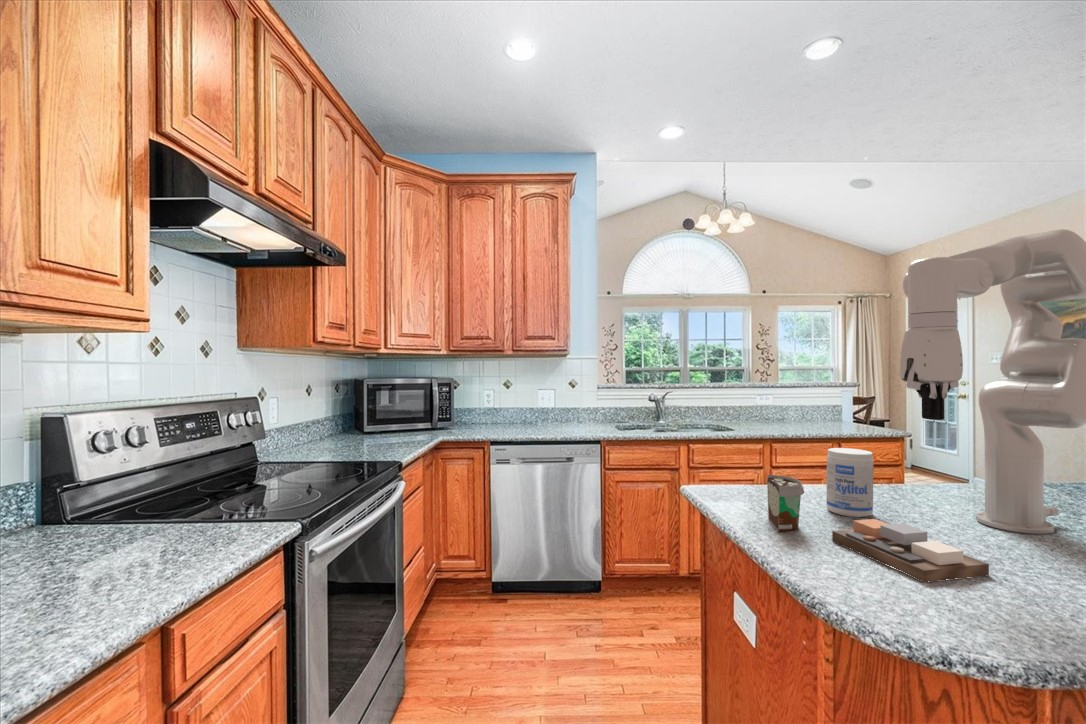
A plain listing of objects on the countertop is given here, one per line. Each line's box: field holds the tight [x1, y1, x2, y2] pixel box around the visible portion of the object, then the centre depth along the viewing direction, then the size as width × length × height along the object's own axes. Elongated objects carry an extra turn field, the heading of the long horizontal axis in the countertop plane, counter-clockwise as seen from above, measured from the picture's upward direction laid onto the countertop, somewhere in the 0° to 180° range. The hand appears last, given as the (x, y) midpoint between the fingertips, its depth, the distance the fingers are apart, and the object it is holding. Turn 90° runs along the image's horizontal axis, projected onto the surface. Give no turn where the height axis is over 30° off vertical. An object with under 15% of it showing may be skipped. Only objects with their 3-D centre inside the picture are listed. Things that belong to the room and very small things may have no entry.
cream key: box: [912, 540, 964, 565], centre depth 88 cm, size 5×5×2 cm
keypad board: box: [831, 528, 990, 583], centre depth 95 cm, size 13×20×3 cm, turn 11°
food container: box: [766, 474, 805, 534], centre depth 113 cm, size 12×6×10 cm, turn 168°
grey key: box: [880, 522, 928, 545], centre depth 95 cm, size 5×5×2 cm
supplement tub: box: [825, 447, 874, 518], centre depth 123 cm, size 10×10×15 cm
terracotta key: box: [852, 518, 891, 539], centre depth 101 cm, size 5×5×2 cm
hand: (932, 418), depth 99 cm, fingers closed
